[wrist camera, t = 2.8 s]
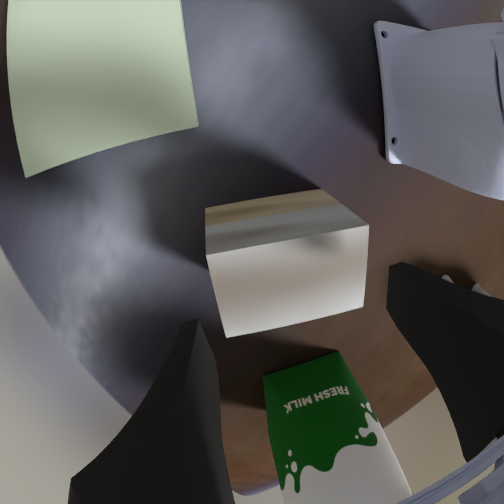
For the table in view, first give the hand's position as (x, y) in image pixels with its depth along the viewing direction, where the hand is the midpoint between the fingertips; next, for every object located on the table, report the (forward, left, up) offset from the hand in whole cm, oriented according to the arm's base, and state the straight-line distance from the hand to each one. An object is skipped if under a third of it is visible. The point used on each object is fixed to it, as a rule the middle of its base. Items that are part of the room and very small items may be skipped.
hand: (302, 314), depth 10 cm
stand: (+13, +8, -8) cm, 17 cm away
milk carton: (-16, -2, -9) cm, 19 cm away
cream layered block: (0, 0, -9) cm, 9 cm away
